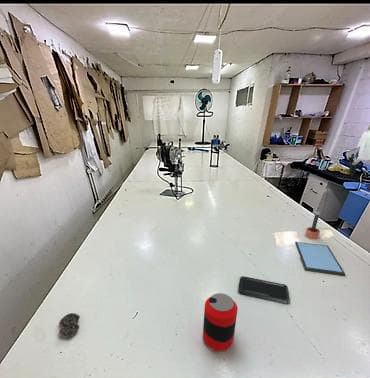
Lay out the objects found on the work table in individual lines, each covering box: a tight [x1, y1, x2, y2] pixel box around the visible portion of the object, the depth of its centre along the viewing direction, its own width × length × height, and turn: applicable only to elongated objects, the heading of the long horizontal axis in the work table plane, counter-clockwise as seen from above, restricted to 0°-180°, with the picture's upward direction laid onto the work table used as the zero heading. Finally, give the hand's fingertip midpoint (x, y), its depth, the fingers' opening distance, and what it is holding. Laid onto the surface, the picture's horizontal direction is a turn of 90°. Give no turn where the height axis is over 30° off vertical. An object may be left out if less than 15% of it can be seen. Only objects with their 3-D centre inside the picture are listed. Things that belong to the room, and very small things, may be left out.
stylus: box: [311, 211, 321, 232], centre depth 106 cm, size 2×2×12 cm
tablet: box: [294, 241, 346, 277], centre depth 93 cm, size 13×20×1 cm, turn 166°
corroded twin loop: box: [58, 312, 81, 339], centre depth 61 cm, size 5×8×1 cm, turn 23°
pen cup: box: [304, 226, 321, 241], centre depth 107 cm, size 6×6×4 cm
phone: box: [237, 275, 290, 304], centre depth 75 cm, size 8×1×15 cm
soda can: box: [202, 292, 239, 352], centre depth 57 cm, size 8×8×12 cm
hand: (365, 175), depth 91 cm, fingers open, 9 cm apart
